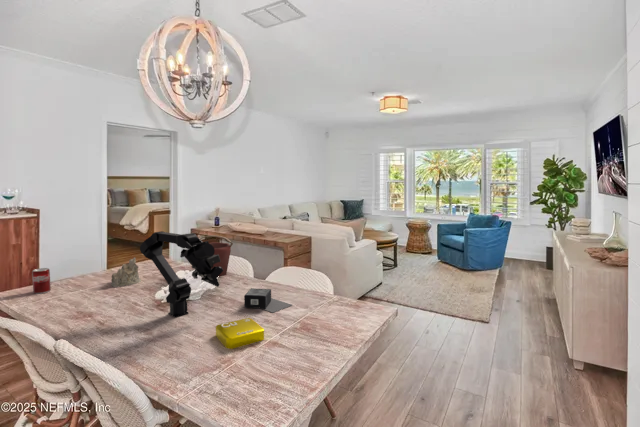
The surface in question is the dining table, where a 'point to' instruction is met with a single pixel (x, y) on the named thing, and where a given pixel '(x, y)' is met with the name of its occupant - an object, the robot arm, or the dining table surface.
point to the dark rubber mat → (276, 305)
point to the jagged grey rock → (126, 275)
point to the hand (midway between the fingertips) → (218, 285)
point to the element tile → (239, 333)
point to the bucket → (221, 253)
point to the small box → (257, 298)
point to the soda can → (41, 280)
